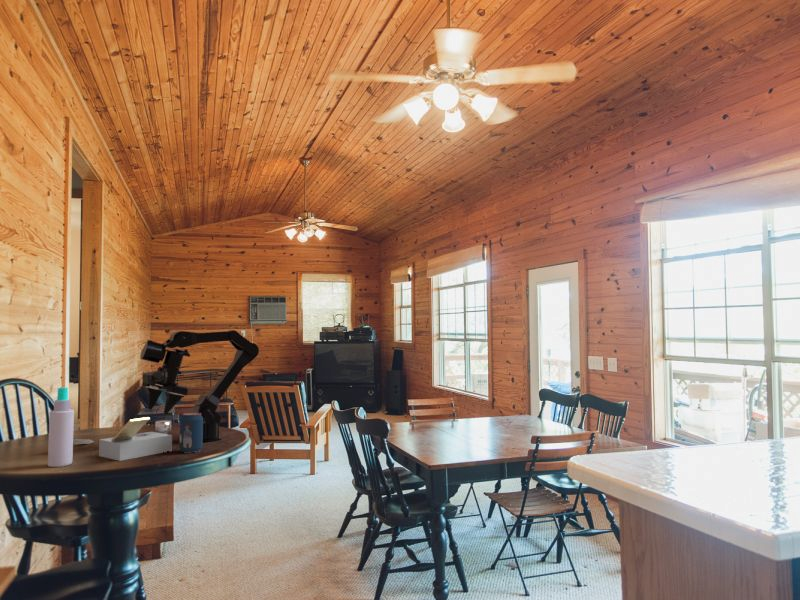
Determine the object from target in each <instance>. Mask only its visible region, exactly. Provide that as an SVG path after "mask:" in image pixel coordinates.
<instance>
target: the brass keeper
mask: <svg viewBox="0 0 800 600" xmlns="http://www.w3.org/2000/svg"><path fill="white" fill-rule="evenodd" d="M149 420H151V417H149V416H147V417H139V418H133V419H131V418H130V419H129V420H128V421H127V423H125V424H124V426H123V427H122V428H121V429H120V430H119V431H118V433H116V434H115V436H114V438H113V437H112V438H113V439H114V440H117V439H124V438H130V437H133V436H134V435H135V434H138V432H139V431H140V430H141V429H142V428H143V427H144V426H145V425H146V424H147V423H148V422H149Z"/></svg>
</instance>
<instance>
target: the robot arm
mask: <svg viewBox="0 0 800 600" xmlns="http://www.w3.org/2000/svg"><path fill="white" fill-rule="evenodd" d="M217 342H229V343H230V344H231V346H232V347H233V348H234V349H235V350H236V352H235V353H234V357H233V360H232V362H231V363H230V365H228V367H227V368H226V370H225V371H224V373H223V374H222V375H221V376H220V378H219V379H218V381H216V383H215V385H214V386H213V387H212V388H211V390H210V391H209V392H208V393H207V394H200V395H199V397H198V398H197V400H196V401H195V402H194V403H193V404H194V405H193V407H192V410H193V411H192V412H199V413H201V415H202V417H203V442H205V443H209V442H212V441H214V442H215V441H220V440H223V439H222V438H223V437H220V422H221V420H222V417H221V415H219V414H218V413H217V412H216V411H217V409H218V407H219V404H220V401H221V398H222V397H223V396H224V394H225V393H227V390H228V389H229V387H230V386H231V385H232V384H233V383H234V381H235V380H236V378H237V377H238V375H239V374H240V373H241V372H242V370H243V369H244V368H245V367H246V366H247V365H249V364H251V363H252V362H253V361H254V359H256V358H257V356H258V355H259V352H260V348H259V346H258V345H257V344H256V343H254V342H251V341H249V340H248V339H247V338H245V337H244V336H243V335H241V334H240V332H239V331H237V330H236V329H231V330H225V331H209V332H194V331H185V330H177V331H173V332H172V333H171V334H170V335H169V338H168V339H166V340H165V341H164V342H163V343H160V342H156V341H153V340H150V339H148V340H146V343H145V344H144V345H143V348H141V352H140V360H143V361H147V362H150V363H155V364H159V363H160V361H161V362H163V363H162V366H159V367H158V368H157V370H155V371H148V372H142V374H141V376H142V381H141V382H142V383H141V386H143V389H144V390H145V391H146V393H147V409H148V410H153V408H154V407H155V405H156V403H157V402H158V400H159V398H160V396H161V395H162V392H163V390H162V389H164V390H166V392H164V394H165V396H166V401H165V404H164V409H163V414H164V415H167V414H169V412H170V411H171V410H172V409H173V408H174V407H175V405H177V404H178V403H179V401H180V400H182V398H185V396H188V393H189V387H188V386H184V385H180V384H179V383H177V379H178V376H179V375H182V371H180V369H181V365H182V362H183V360H184V357H191V354H190V353H189V351H188V349H186V348H187V347H191V346H195V345H198V344H204V343H206V344H207V343H217ZM178 348H185V349H178ZM169 349H173V350H169Z"/></svg>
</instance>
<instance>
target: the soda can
mask: <svg viewBox="0 0 800 600" xmlns="http://www.w3.org/2000/svg"><path fill="white" fill-rule="evenodd" d="M203 443H204V441H203V417H202V415H201V413H199V412H193V411H192V412H184V413H182V415H181V417H180V420H179V450H180V452H181V453H182V452H184V453H183V454H192V453H191V452H195V453H198V452H197V451H199V452H201V450H202V449H203V446H204V445H203Z"/></svg>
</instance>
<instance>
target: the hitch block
mask: <svg viewBox="0 0 800 600" xmlns="http://www.w3.org/2000/svg"><path fill="white" fill-rule="evenodd" d="M114 437H115V436H114ZM114 437H107V438H101V439H99V441H98V446H99V447H98V457H102V458H106V459H111V460H114V461H119V462H120V461H126V460H132V459H137V458H142V457H147V456H152V455H157V454H162V453H163V452H164V453H167V451H169V452H172V449H173V434H168V433H167V434H162V433H159V432H157V431H148V432H147V431H146V432H140V433H136V434H135V435H134V436H133V437H130V438H124V439H117V440H114V439H113V438H114ZM164 453H163V454H164Z"/></svg>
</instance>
